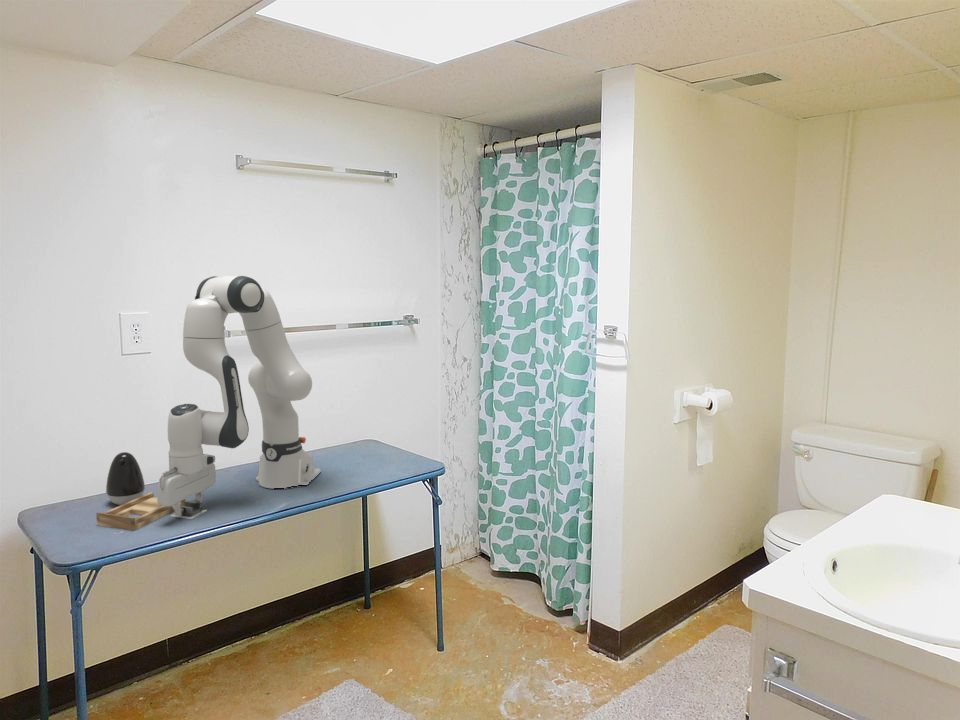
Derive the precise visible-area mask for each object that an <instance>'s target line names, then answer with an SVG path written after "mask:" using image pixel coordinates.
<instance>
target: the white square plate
mask: <svg viewBox="0 0 960 720" xmlns="http://www.w3.org/2000/svg"><path fill="white" fill-rule="evenodd" d="M205 512H208V509H202V511H201V512H200V513H198V514H196V515H194V516H192V517H185V516H180V517H178V516H175V513H173V514H171V515H170V517H174V518H180V519H181V518H182V519H187V520H188V519H189V520H192V519H195V518H196V517H198V516H200V515H201V514H204V513H205Z"/></svg>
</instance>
